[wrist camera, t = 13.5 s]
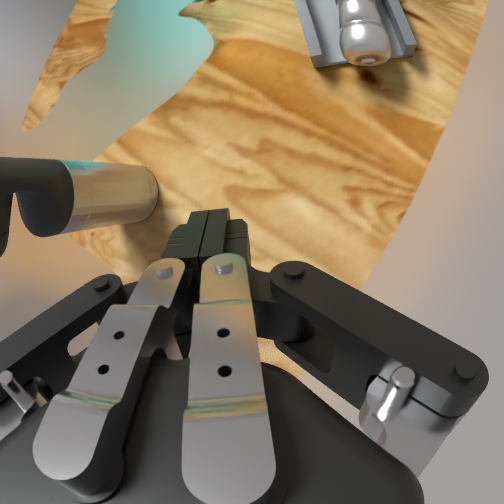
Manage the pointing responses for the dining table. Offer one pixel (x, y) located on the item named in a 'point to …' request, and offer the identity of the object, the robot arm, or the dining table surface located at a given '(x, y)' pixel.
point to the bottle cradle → (327, 30)
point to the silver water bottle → (362, 33)
